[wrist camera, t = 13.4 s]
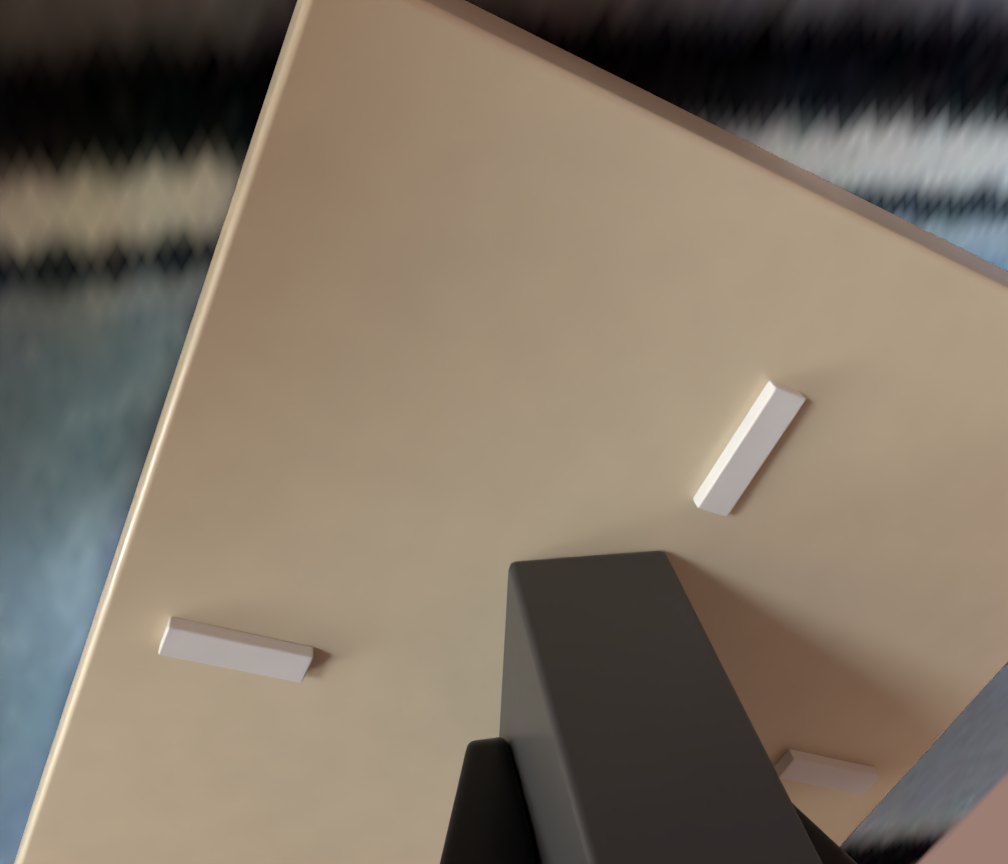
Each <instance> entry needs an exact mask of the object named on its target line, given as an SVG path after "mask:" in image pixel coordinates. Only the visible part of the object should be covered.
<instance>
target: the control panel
mask: <svg viewBox="0 0 1008 864" xmlns="http://www.w3.org/2000/svg"><path fill="white" fill-rule="evenodd" d="M650 551H662V552H664V553H665V554H666V555H667V557H668V559H669V561H670V563H671V565H672V567H673V569H674V571H675V573H676V575H677V577H678V579H679V581H680V583H681V585H682V587H683V589H684V591H685V593H686V595H687V597H688V599H689V601H690V603H691V605H692V606H693V608H694V610H695V612H696V614H697V616H698V618H699V620H700V622H701V624H702V626H703V628H704V630H705V632H706V634H707V636H708V638H709V640H710V642H711V644H712V646H713V648H714V650H715V652H716V654H717V656H718V658H719V660H720V662H721V664H722V666H723V668H724V670H725V672H726V674H727V676H728V678H729V680H730V682H731V683H732V685H733V687H734V689H735V691H736V693H737V695H738V697H739V699H740V701H741V703H742V705H743V707H744V709H745V711H746V713H747V715H748V717H749V719H750V721H751V723H752V725H753V727H754V729H755V731H756V733H757V735H758V737H759V739H760V741H761V743H762V745H763V747H764V749H765V751H766V753H767V755H768V757H769V759H770V761H771V762H772V764H773V766H774V768H775V770H776V772H777V774H778V776H779V778H780V780H781V782H782V784H783V786H784V788H785V790H786V792H787V794H788V796H789V798H790V800H791V802H792V803H793V804H794V805H795V806H796V807H797V808H798V809H799V810H800V811H801V812H803V813H804V814H805V815H806V816H807V817H808V818H809V819H810V820H811V821H812V822H813V823H814V824H815V825H816V826H818V827H819V828H820V829H821V830H822V831H823V832H824V833H825V834H826V835H827V836H828V837H829V838H830V839H832V840H833V841H834V842H835V843H836V844H837V845H838V846H839V847H840V846H841V845H842V844H843V842H844V841H845V840H846V839H847V838H848V837H849V836H850V835H851V834H852V833H853V832H854V830H855V829H856V828H857V827H858V826H859V825H860V824H861V823H862V822H863V821H864V819H865V818H866V817H867V816H868V815H869V814H870V813H871V812H872V811H873V810H874V808H875V807H876V806H877V805H878V804H879V803H880V802H881V801H882V800H883V799H884V797H885V796H886V795H887V794H888V793H889V792H890V791H891V790H892V789H893V788H894V786H895V785H896V784H897V783H898V782H899V781H900V780H901V779H902V778H903V777H904V775H905V774H906V773H907V772H908V771H909V770H910V769H911V768H912V767H913V766H914V764H915V763H916V762H917V761H918V760H919V759H920V758H921V757H922V756H923V755H924V753H925V752H926V751H927V750H928V749H929V748H930V747H931V746H932V745H933V744H934V743H935V741H936V740H937V739H938V738H939V737H940V736H941V735H942V734H943V733H944V732H945V730H946V729H947V728H948V727H949V726H950V725H951V724H952V723H953V722H954V721H955V719H956V718H957V717H958V716H959V715H960V714H961V713H962V712H963V711H964V710H965V708H966V707H967V706H968V705H969V704H970V703H971V702H972V701H973V700H974V699H975V697H976V696H977V695H978V694H979V693H980V692H981V691H982V690H983V689H984V688H985V686H986V685H987V684H988V683H989V682H990V681H991V680H992V679H993V678H994V677H995V675H996V674H997V673H998V672H999V671H1000V670H1001V669H1002V668H1003V667H1004V666H1005V664H1006V663H1007V662H1008V271H1006V270H1004V269H1002V268H1000V267H998V266H996V265H994V264H992V263H990V262H988V261H986V260H984V259H982V258H980V257H978V256H976V255H974V254H972V253H970V252H968V251H966V250H964V249H962V248H960V247H958V246H956V245H954V244H952V243H950V242H948V241H946V240H944V239H942V238H940V237H938V236H936V235H934V234H932V233H930V232H928V231H926V230H924V229H922V228H920V227H918V226H916V225H914V224H912V223H910V222H908V221H906V220H904V219H902V218H900V217H898V216H896V215H894V214H892V213H890V212H888V211H886V210H884V209H882V208H880V207H878V206H876V205H874V204H872V203H870V202H868V201H866V200H864V199H862V198H860V197H858V196H856V195H854V194H852V193H850V192H848V191H846V190H844V189H842V188H840V187H838V186H836V185H834V184H832V183H830V182H828V181H826V180H824V179H822V178H820V177H818V176H816V175H814V174H812V173H810V172H808V171H806V170H804V169H802V168H800V167H798V166H796V165H794V164H792V163H790V162H788V161H786V160H784V159H782V158H780V157H778V156H776V155H774V154H772V153H770V152H768V151H766V150H764V149H762V148H760V147H758V146H756V145H754V144H752V143H750V142H748V141H746V140H744V139H742V138H740V137H738V136H736V135H734V134H732V133H730V132H728V131H726V130H724V129H722V128H720V127H718V126H716V125H714V124H712V123H710V122H708V121H706V120H704V119H702V118H700V117H698V116H696V115H694V114H692V113H690V112H688V111H686V110H684V109H682V108H680V107H678V106H676V105H674V104H672V103H670V102H667V101H665V100H663V99H661V98H659V97H657V96H655V95H653V94H651V93H649V92H647V91H645V90H643V89H641V88H639V87H637V86H635V85H633V84H631V83H629V82H627V81H625V80H623V79H621V78H619V77H617V76H615V75H613V74H611V73H609V72H607V71H605V70H603V69H601V68H599V67H597V66H595V65H593V64H591V63H589V62H587V61H585V60H583V59H581V58H579V57H577V56H575V55H573V54H571V53H569V52H567V51H565V50H563V49H561V48H559V47H557V46H555V45H553V44H551V43H549V42H547V41H545V40H543V39H541V38H539V37H537V36H535V35H533V34H531V33H529V32H527V31H525V30H523V29H521V28H519V27H517V26H515V25H513V24H511V23H509V22H507V21H505V20H503V19H501V18H499V17H497V16H495V15H493V14H491V13H489V12H487V11H485V10H483V9H481V8H479V7H477V6H475V5H473V4H471V3H469V2H467V1H465V0H297V2H296V5H295V8H294V12H293V15H292V18H291V21H290V24H289V27H288V30H287V33H286V36H285V39H284V42H283V45H282V48H281V51H280V54H279V57H278V60H277V63H276V66H275V69H274V72H273V75H272V78H271V81H270V84H269V87H268V90H267V94H266V97H265V100H264V103H263V106H262V109H261V112H260V115H259V118H258V121H257V124H256V127H255V130H254V133H253V136H252V139H251V142H250V145H249V148H248V151H247V154H246V157H245V160H244V163H243V166H242V169H241V172H240V175H239V179H238V182H237V185H236V188H235V191H234V194H233V197H232V200H231V203H230V206H229V209H228V212H227V215H226V218H225V221H224V224H223V227H222V230H221V233H220V236H219V239H218V242H217V245H216V248H215V251H214V254H213V257H212V260H211V264H210V267H209V270H208V273H207V276H206V279H205V282H204V285H203V288H202V291H201V294H200V297H199V300H198V303H197V306H196V309H195V312H194V315H193V318H192V321H191V324H190V327H189V330H188V333H187V336H186V339H185V342H184V346H183V349H182V352H181V355H180V358H179V361H178V364H177V367H176V370H175V373H174V376H173V379H172V382H171V385H170V388H169V391H168V394H167V397H166V400H165V403H164V406H163V409H162V412H161V415H160V418H159V421H158V424H157V427H156V431H155V434H154V437H153V440H152V443H151V446H150V449H149V452H148V455H147V458H146V461H145V464H144V467H143V470H142V473H141V476H140V479H139V482H138V485H137V488H136V491H135V494H134V497H133V500H132V503H131V506H130V509H129V512H128V516H127V519H126V522H125V525H124V528H123V531H122V534H121V537H120V540H119V543H118V546H117V549H116V552H115V555H114V558H113V561H112V564H111V567H110V570H109V573H108V576H107V579H106V582H105V585H104V588H103V591H102V594H101V598H100V601H99V604H98V607H97V610H96V613H95V616H94V619H93V622H92V625H91V628H90V631H89V634H88V637H87V640H86V643H85V646H84V649H83V652H82V655H81V658H80V661H79V664H78V667H77V670H76V673H75V676H74V679H73V683H72V686H71V689H70V692H69V695H68V698H67V701H66V704H65V707H64V710H63V713H62V716H61V719H60V722H59V725H58V728H57V731H56V734H55V737H54V740H53V743H52V746H51V749H50V752H49V755H48V758H47V761H46V764H45V768H44V771H43V774H42V777H41V780H40V783H39V786H38V789H37V793H36V796H35V799H34V802H33V805H32V809H31V812H30V815H29V818H28V821H27V825H26V828H25V831H24V834H23V837H22V840H21V844H20V847H19V850H18V853H17V856H16V860H15V863H14V864H440V860H441V856H442V851H443V847H444V843H445V838H446V834H447V830H448V825H449V821H450V817H451V812H452V808H453V804H454V799H455V795H456V791H457V786H458V782H459V778H460V773H461V769H462V765H463V760H464V756H465V752H466V748H467V745H468V744H469V743H470V742H471V741H473V740H480V739H488V738H496V737H499V731H500V713H501V695H502V677H503V659H504V640H505V622H506V604H507V586H508V570H509V567H510V565H511V563H513V562H516V561H530V560H543V559H556V558H570V557H583V556H596V555H610V554H623V553H637V552H650Z"/></svg>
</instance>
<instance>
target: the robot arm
mask: <svg viewBox="0 0 1008 864" xmlns="http://www.w3.org/2000/svg"><path fill="white" fill-rule="evenodd" d="M792 804H793V803H792ZM793 806H794V808H795V810H796V812H797V814H798V816H799V818H800V820H801V822H802V824H803V826H804V828H805V830H806V832H807V834H808V836H809V838H810V839H811V841H812V843H813V845H814V847H815V849H816V851H817V853H818V855H819V857H820V859H821V861H822V863H823V864H857V863H856V862H855V861H854V860H853V859H852V858H851V857H850V856H849V855H848V854H847V853H845V852H844V851H843V850H842V849H841V848H840V847H839V846H838V845H837V844H836V843H835V842H834V841H833V840H832V839H830V838H829V837H828V836H827V835H826V834H825V833H824V832H823V831H822V830H821V829H820V828H819V827H818V826H816V825H815V824H814V823H813V822H812V821H811V820H810V819H809V818H808V817H807V816H806V815H805V814H804V813H803V812H801V811H800V810H799V809H798V808H797V807H796V806H795V805H794V804H793ZM440 864H536V862H535V854H534V846H533V841H532V836H531V831H530V827H529V823H528V819H527V815H526V811H525V807H524V803H523V799H522V795H521V792H520V788H519V784H518V780H517V776H516V772H515V768H514V764H513V760H512V756H511V753H510V749H509V745H508V743H507V741H506V740H505V739H504V738H502V737H496V738H488V739H480V740H473V741H471V742H470V743H469V744H468V745H467V748H466V752H465V756H464V760H463V765H462V769H461V773H460V778H459V782H458V786H457V791H456V795H455V799H454V804H453V808H452V812H451V817H450V821H449V825H448V830H447V834H446V838H445V843H444V847H443V851H442V856H441V860H440Z"/></svg>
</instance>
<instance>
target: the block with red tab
mask: <svg viewBox="0 0 1008 864" xmlns="http://www.w3.org/2000/svg"><path fill="white" fill-rule="evenodd" d="M499 737H502V738H504V739H505V740H506V741H507V743H508V745H509V749H510V753H511V756H512V760H513V764H514V768H515V772H516V776H517V780H518V784H519V788H520V792H521V795H522V799H523V803H524V807H525V811H526V815H527V819H528V823H529V827H530V831H531V836H532V841H533V846H534V854H535V862H536V864H823V863H822V861H821V859H820V857H819V855H818V853H817V851H816V849H815V847H814V845H813V843H812V841H811V839H810V838H809V836H808V834H807V832H806V830H805V828H804V826H803V824H802V822H801V820H800V818H799V816H798V814H797V812H796V810H795V808H794V806H793V804H792V802H791V800H790V798H789V796H788V794H787V792H786V790H785V788H784V786H783V784H782V782H781V780H780V778H779V776H778V774H777V772H776V770H775V768H774V766H773V764H772V762H771V761H770V759H769V757H768V755H767V753H766V751H765V749H764V747H763V745H762V743H761V741H760V739H759V737H758V735H757V733H756V731H755V729H754V727H753V725H752V723H751V721H750V719H749V717H748V715H747V713H746V711H745V709H744V707H743V705H742V703H741V701H740V699H739V697H738V695H737V693H736V691H735V689H734V687H733V685H732V683H731V682H730V680H729V678H728V676H727V674H726V672H725V670H724V668H723V666H722V664H721V662H720V660H719V658H718V656H717V654H716V652H715V650H714V648H713V646H712V644H711V642H710V640H709V638H708V636H707V634H706V632H705V630H704V628H703V626H702V624H701V622H700V620H699V618H698V616H697V614H696V612H695V610H694V608H693V606H692V605H691V603H690V601H689V599H688V597H687V595H686V593H685V591H684V589H683V587H682V585H681V583H680V581H679V579H678V577H677V575H676V573H675V571H674V569H673V567H672V565H671V563H670V561H669V559H668V557H667V555H666V554H665V553H664V552H662V551H650V552H637V553H623V554H610V555H596V556H583V557H570V558H556V559H543V560H530V561H516V562H513V563H511V565H510V567H509V570H508V586H507V604H506V622H505V640H504V659H503V677H502V695H501V713H500V731H499Z"/></svg>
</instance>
